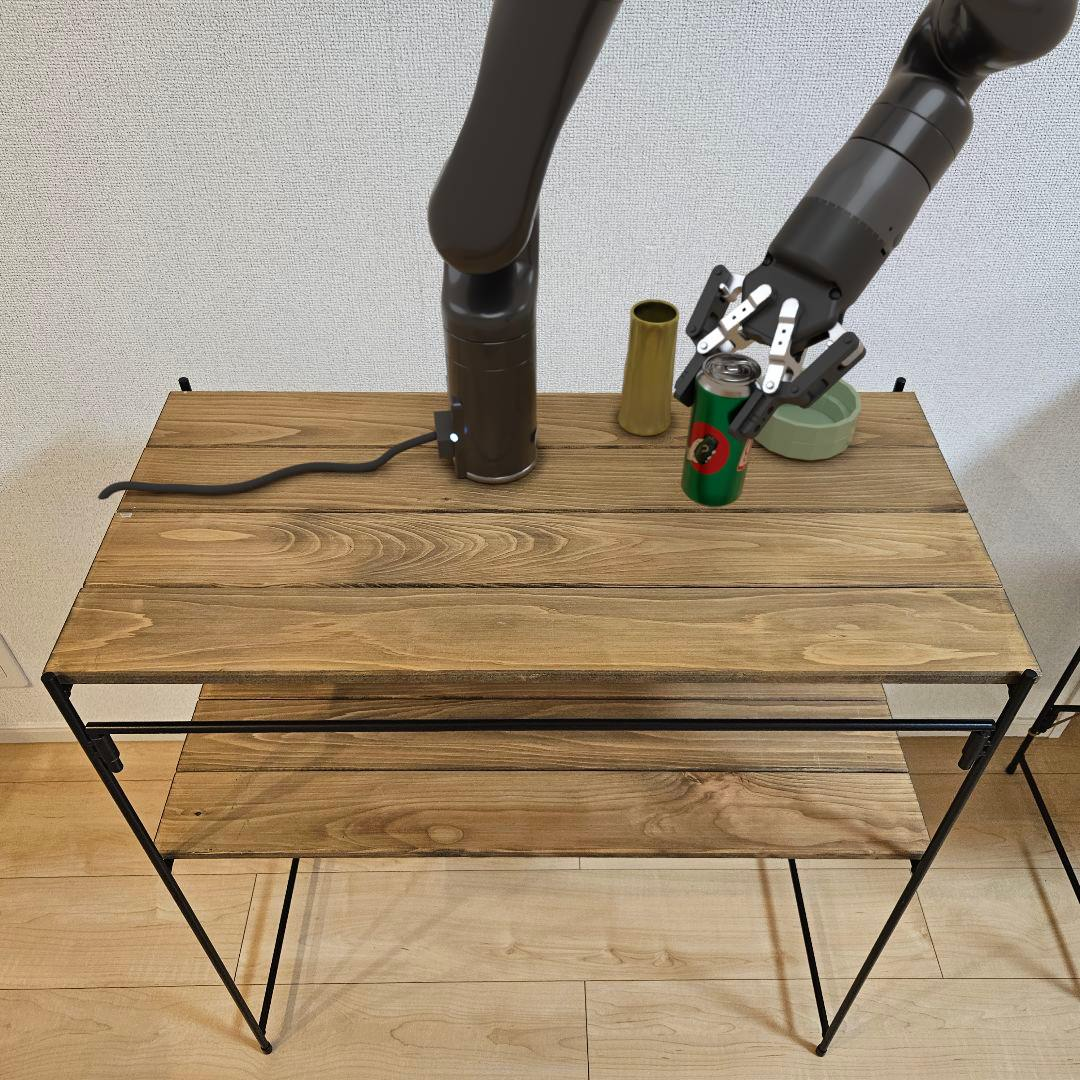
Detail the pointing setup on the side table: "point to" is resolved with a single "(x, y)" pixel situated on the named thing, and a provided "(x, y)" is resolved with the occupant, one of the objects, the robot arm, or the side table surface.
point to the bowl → (814, 425)
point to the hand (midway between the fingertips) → (708, 419)
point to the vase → (649, 368)
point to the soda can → (718, 430)
